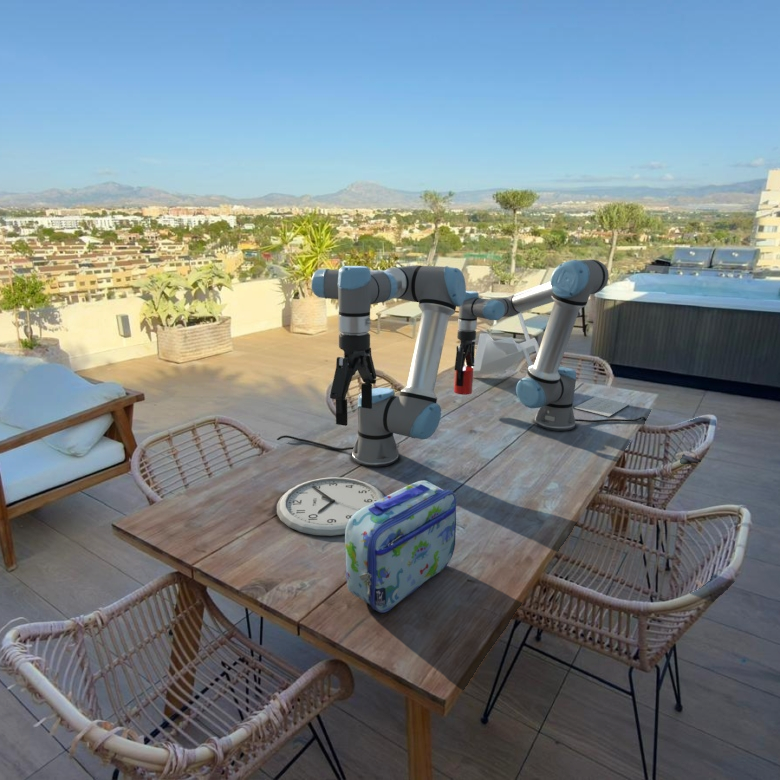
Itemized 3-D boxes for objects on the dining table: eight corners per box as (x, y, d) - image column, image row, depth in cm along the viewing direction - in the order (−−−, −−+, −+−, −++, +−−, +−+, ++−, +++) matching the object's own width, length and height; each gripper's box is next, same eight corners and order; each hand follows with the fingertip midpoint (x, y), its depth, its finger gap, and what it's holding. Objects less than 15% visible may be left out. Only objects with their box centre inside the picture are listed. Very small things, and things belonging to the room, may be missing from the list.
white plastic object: (486, 418, 267) (465, 395, 242) (467, 346, 289) (447, 318, 264) (556, 394, 255) (543, 367, 230) (531, 321, 277) (516, 289, 252)
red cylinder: (473, 390, 224) (474, 367, 221) (470, 395, 217) (471, 371, 214) (456, 388, 226) (457, 365, 223) (452, 393, 219) (453, 369, 216)
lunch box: (374, 626, 100) (375, 530, 93) (338, 598, 107) (337, 508, 101) (459, 568, 117) (465, 484, 111) (424, 547, 124) (427, 467, 118)
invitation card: (608, 416, 214) (573, 407, 224) (608, 416, 214) (573, 408, 224) (628, 404, 229) (594, 396, 238) (628, 405, 229) (594, 397, 238)
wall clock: (392, 527, 129) (268, 531, 127) (391, 533, 130) (269, 537, 127) (383, 473, 158) (282, 475, 155) (383, 478, 158) (282, 480, 156)
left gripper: (343, 343, 113) (344, 435, 119) (389, 325, 135) (388, 403, 141) (313, 340, 116) (315, 429, 122) (363, 323, 137) (363, 399, 144)
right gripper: (468, 325, 224) (465, 376, 230) (447, 332, 207) (444, 387, 214) (485, 327, 220) (481, 379, 227) (465, 334, 203) (461, 390, 210)
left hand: (354, 415), depth 131 cm, fingers open, 13 cm apart
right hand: (463, 383), depth 220 cm, fingers closed on red cylinder, 7 cm apart
